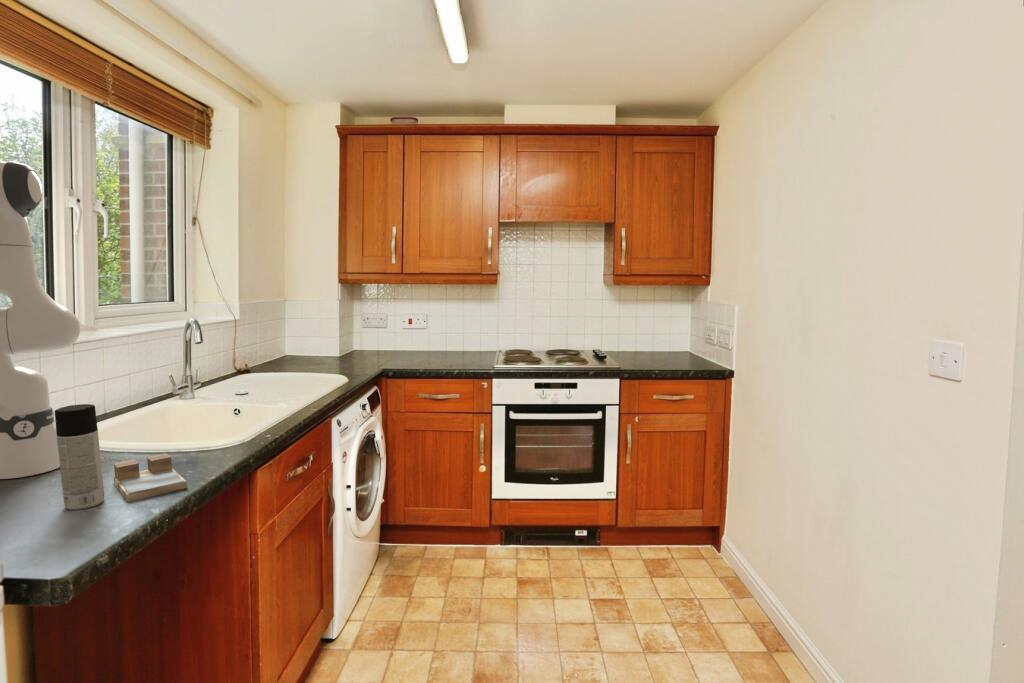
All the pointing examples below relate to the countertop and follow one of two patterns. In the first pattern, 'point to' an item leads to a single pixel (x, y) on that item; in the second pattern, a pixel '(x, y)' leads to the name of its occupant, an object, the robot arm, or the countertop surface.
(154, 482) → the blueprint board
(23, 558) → the countertop surface
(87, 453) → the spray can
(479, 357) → the countertop surface
